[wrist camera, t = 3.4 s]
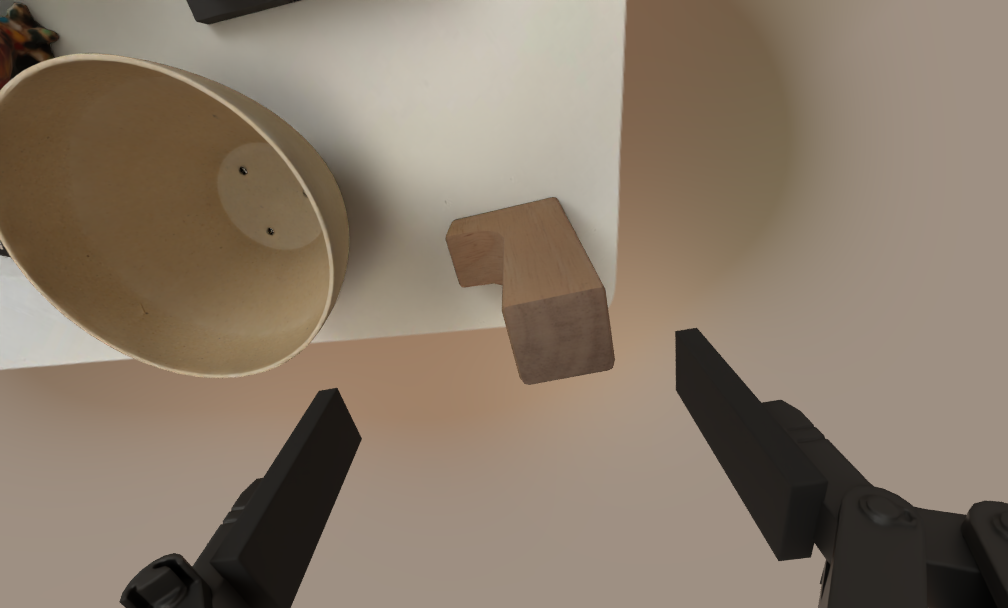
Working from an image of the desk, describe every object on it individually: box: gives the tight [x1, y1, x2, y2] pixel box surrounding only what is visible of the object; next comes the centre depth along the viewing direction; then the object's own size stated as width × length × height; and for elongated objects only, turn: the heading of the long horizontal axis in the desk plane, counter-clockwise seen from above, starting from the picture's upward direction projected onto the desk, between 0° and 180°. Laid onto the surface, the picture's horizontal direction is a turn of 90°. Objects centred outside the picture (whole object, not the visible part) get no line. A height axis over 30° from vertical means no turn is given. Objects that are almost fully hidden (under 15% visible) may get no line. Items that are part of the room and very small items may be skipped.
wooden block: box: [446, 197, 615, 385], centre depth 26 cm, size 9×4×18 cm, turn 103°
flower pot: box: [0, 54, 349, 378], centre depth 27 cm, size 18×18×12 cm
